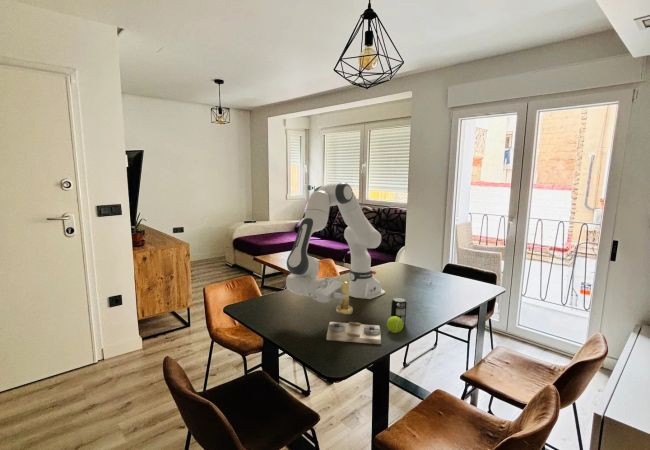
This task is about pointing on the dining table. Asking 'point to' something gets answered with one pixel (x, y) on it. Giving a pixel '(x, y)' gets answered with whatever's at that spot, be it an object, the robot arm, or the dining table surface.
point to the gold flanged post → (344, 300)
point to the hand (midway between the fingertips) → (347, 294)
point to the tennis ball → (395, 324)
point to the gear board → (354, 332)
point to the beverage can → (399, 308)
